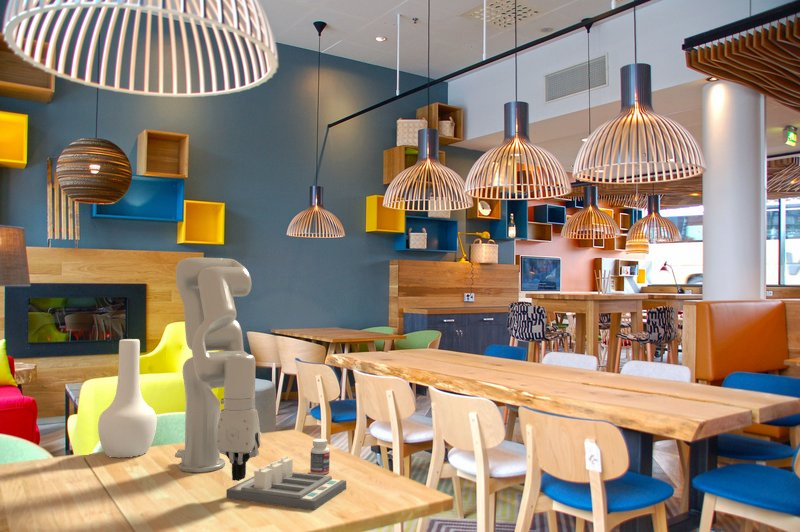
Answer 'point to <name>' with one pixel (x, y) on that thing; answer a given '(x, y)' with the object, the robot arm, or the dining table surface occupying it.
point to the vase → (127, 409)
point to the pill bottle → (320, 457)
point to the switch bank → (291, 491)
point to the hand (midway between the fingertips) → (238, 479)
